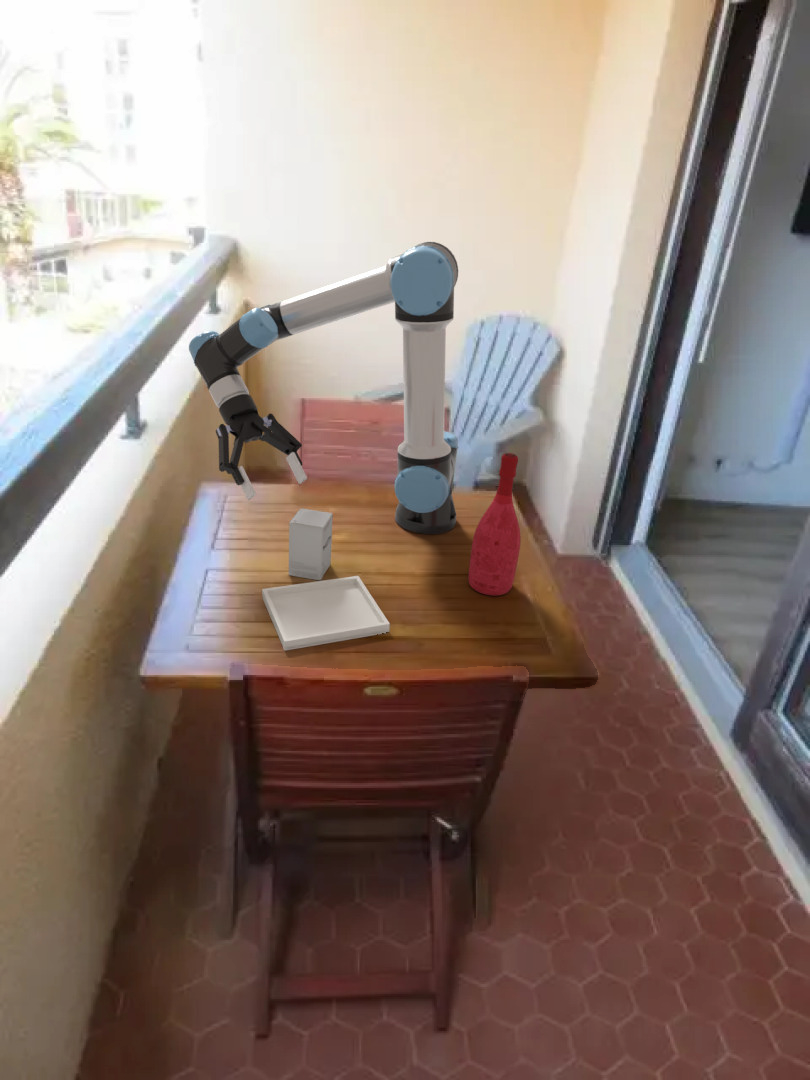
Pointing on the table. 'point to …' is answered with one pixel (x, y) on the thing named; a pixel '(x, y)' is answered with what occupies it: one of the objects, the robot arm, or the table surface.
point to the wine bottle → (497, 538)
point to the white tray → (323, 612)
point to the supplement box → (310, 543)
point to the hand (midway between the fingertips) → (278, 489)
